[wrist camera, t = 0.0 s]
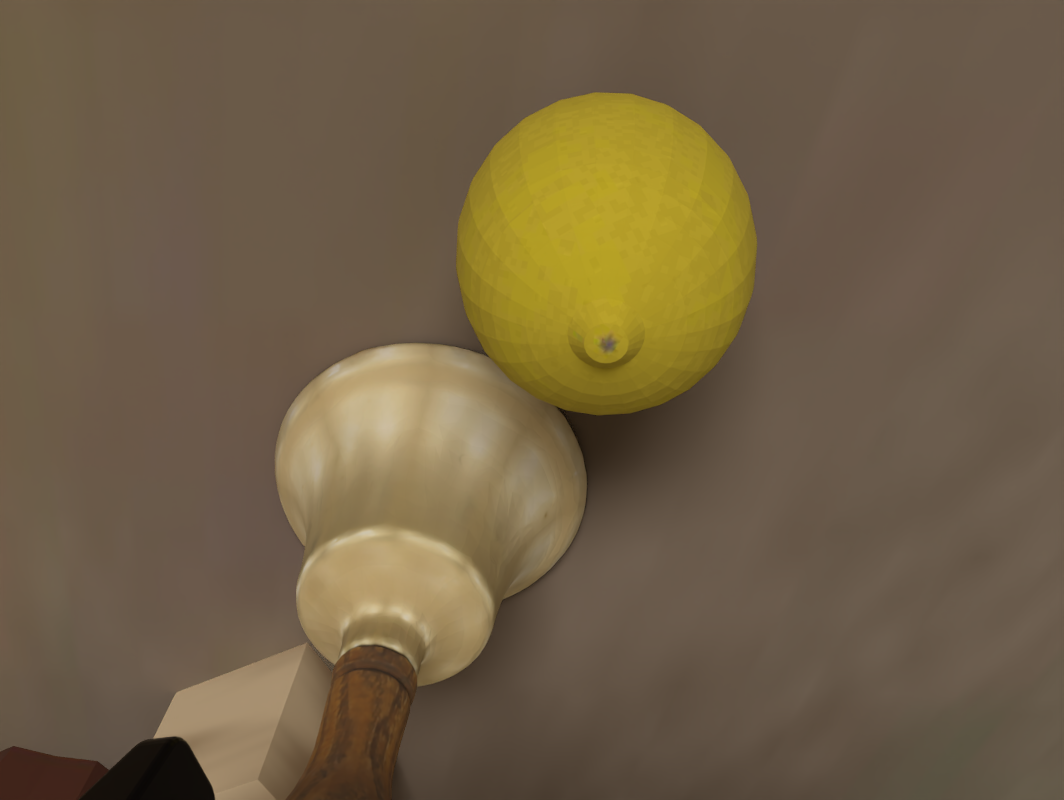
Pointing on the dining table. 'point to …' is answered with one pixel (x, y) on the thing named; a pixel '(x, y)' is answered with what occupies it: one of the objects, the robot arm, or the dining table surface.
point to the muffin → (45, 775)
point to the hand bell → (413, 533)
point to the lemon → (606, 253)
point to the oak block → (254, 724)
